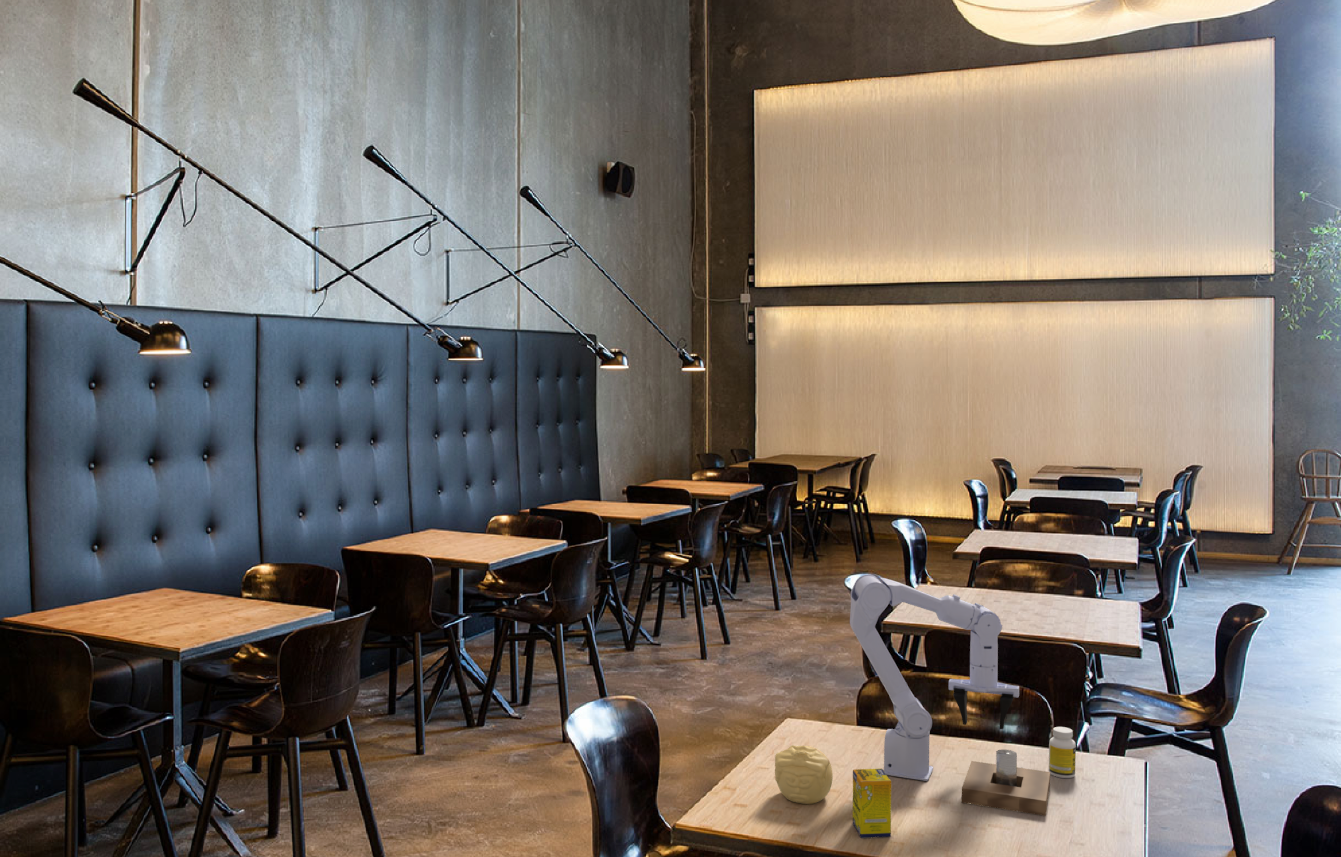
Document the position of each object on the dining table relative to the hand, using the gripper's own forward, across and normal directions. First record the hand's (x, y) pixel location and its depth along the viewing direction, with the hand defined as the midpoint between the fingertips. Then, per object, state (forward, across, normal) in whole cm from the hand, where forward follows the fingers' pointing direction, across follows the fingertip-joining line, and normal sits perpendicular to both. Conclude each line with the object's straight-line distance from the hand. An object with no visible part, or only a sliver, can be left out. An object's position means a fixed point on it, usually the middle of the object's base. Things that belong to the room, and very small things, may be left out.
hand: (983, 725), depth 221 cm
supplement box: (+10, -16, -38) cm, 43 cm away
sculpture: (+10, -32, -28) cm, 44 cm away
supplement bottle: (+11, +16, +6) cm, 20 cm away
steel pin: (+10, +6, -10) cm, 15 cm away
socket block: (+10, +6, -10) cm, 16 cm away
